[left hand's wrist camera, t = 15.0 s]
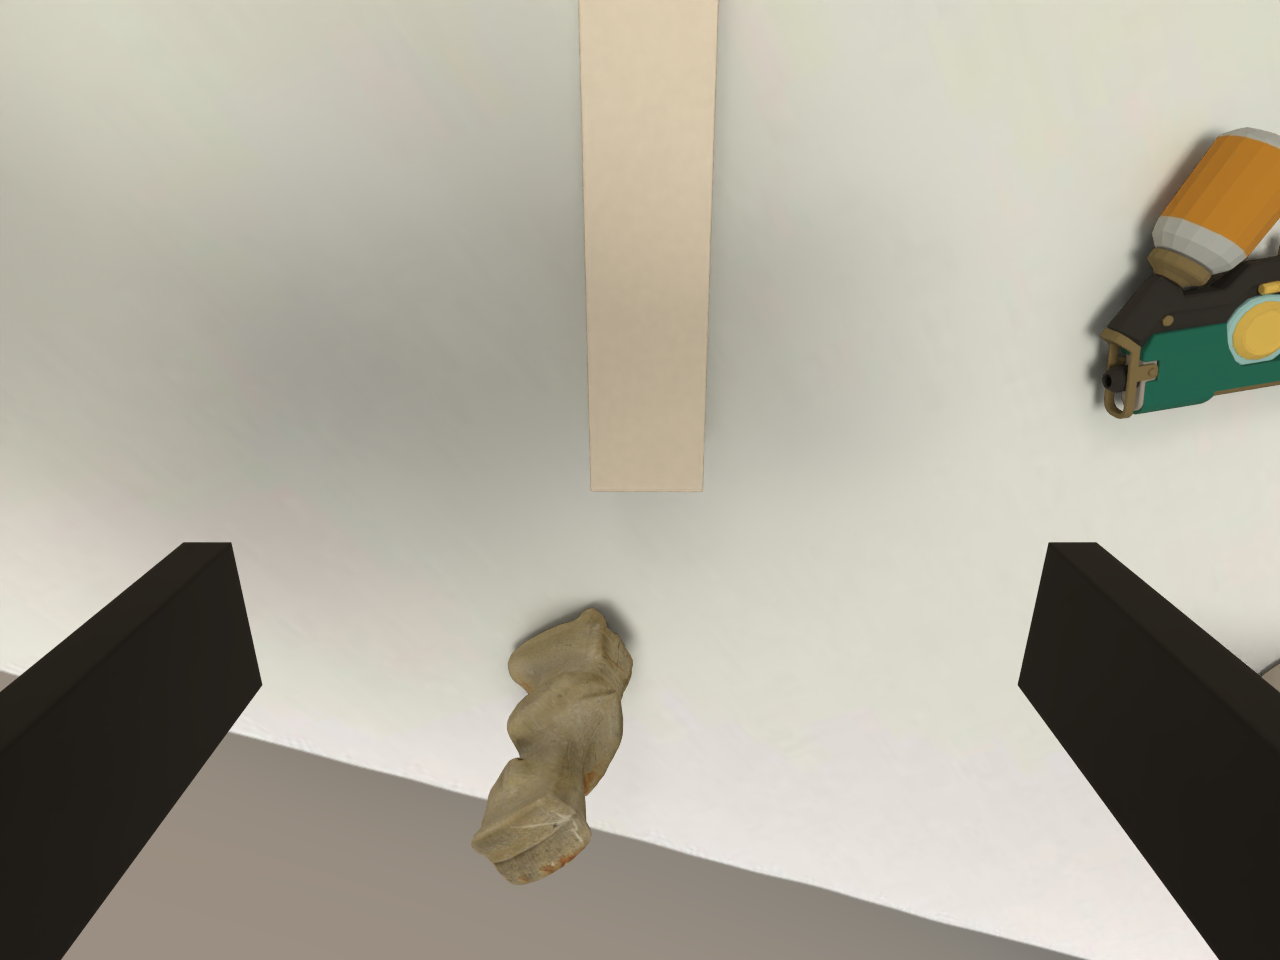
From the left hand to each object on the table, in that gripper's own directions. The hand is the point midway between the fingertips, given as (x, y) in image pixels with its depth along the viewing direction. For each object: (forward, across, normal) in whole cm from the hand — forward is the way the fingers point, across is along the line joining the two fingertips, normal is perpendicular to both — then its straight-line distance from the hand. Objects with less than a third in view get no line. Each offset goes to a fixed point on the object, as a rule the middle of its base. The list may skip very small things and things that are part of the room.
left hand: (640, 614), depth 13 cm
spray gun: (+29, -32, -2) cm, 43 cm away
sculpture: (+29, +4, +20) cm, 36 cm away
